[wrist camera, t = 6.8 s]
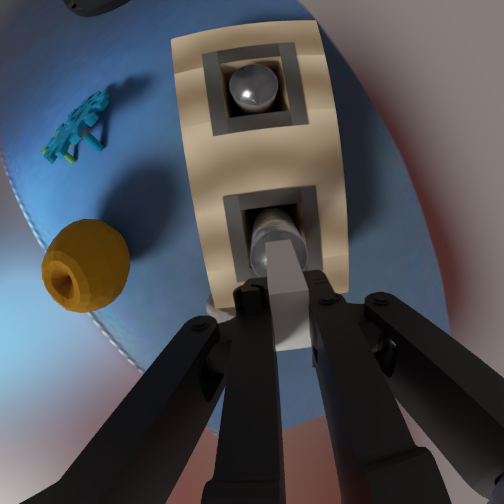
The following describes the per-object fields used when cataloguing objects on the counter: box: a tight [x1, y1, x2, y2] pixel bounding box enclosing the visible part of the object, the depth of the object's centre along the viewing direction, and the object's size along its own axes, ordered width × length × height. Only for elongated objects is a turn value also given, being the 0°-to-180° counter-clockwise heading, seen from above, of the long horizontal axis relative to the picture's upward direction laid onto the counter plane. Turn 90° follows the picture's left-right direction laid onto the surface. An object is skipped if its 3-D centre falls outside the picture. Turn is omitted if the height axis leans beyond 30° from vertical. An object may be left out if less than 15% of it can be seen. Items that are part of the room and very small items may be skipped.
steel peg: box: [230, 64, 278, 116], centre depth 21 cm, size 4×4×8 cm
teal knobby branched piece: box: [42, 90, 109, 164], centre depth 24 cm, size 11×6×10 cm
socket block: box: [171, 20, 349, 309], centre depth 23 cm, size 24×12×8 cm, turn 8°
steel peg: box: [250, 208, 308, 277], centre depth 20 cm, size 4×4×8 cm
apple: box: [42, 219, 130, 313], centre depth 25 cm, size 10×10×12 cm
